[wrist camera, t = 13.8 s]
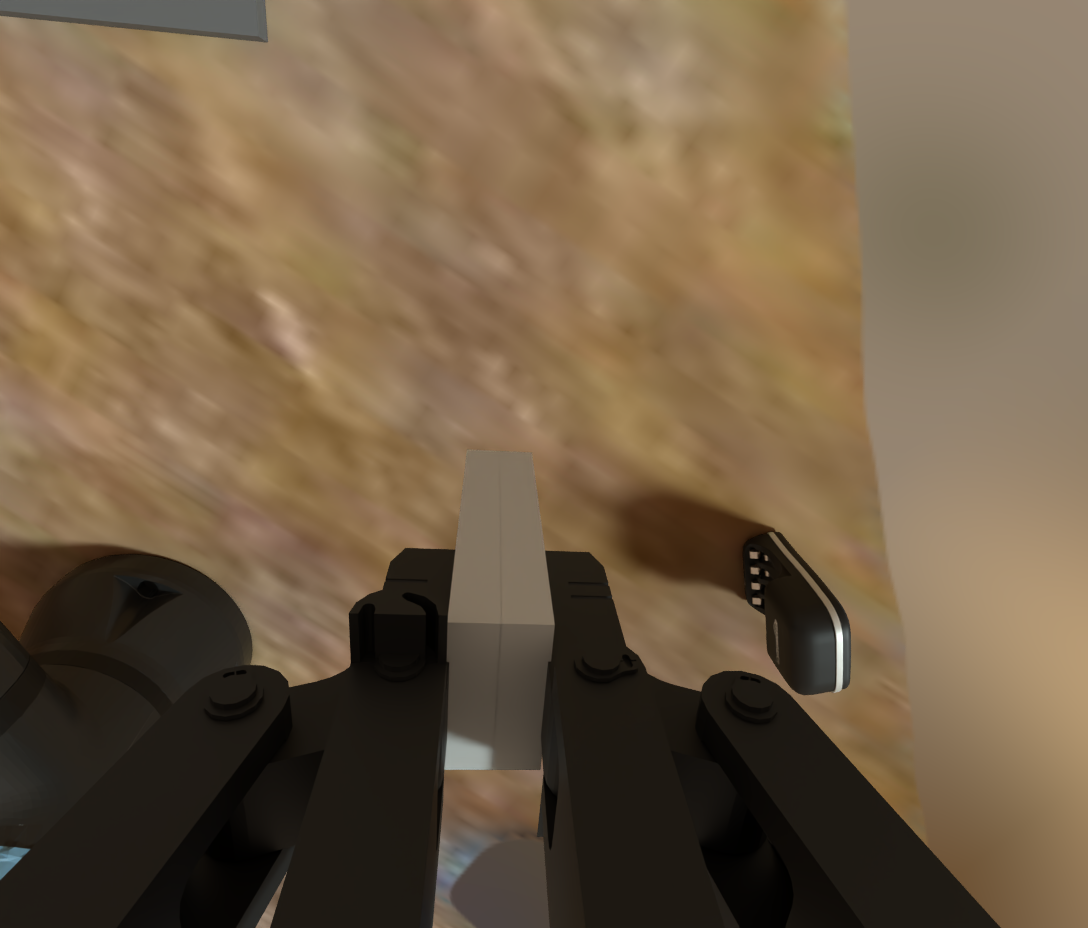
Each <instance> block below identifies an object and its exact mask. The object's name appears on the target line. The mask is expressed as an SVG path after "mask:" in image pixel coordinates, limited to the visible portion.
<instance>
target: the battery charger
mask: <svg viewBox="0 0 1088 928" xmlns="http://www.w3.org/2000/svg"><path fill="white" fill-rule="evenodd" d="M743 566H744V581H745V594H746V599H747V602H748V603H749V605H750V606H752V607H753V608H755V609H756V610H758V611H759V612H761V613H763V614H764V615H765V617H766V640H767V652H768V654H769V656H770V658H771V659H772V661H773V663H774V664H775V666H776V667H777V669H778V670H779V672H780V673H781V675H782V676H783V678H784V679H785V681H786V682H787V683H788V685H789V686H790V687H791V689H793V690H794V691H795V692H797V693H798V694H802V695H814V694H819V693H825V692H832V693H834V692H839V691H841V689H845V688H847V687H848V685H849V683H850V669H851V632H850V625H849V620H848V617H847V615H846V613H845V611H844V609H843V607H842V605H841V604H840V603H839V601H838V600H837V599H836V597H835V596H834V595H833V594H832V592H831V591H830V590H829V589H828V587H827V586H826V585H825V584H824V583H823V581H822V580H821V579H820V578H819V577H818V575H817V574H816V573H815V572H814V571H813V570H812V569H811V567H810V566H809V565H808V564H807V563H806V562H805V561H804V560H803V559H802V558H801V556H800V555H799V554H798V553H797V552H796V551H795V550H794V548H793V547H792V546H791V545H790V544H789V542H788V541H787V540H786V539H785V537H784V536H783V535H782V534H781V533H780V532H768V533H767V534H764V535H759V536H757V537H754V538H752V539H750V540H748V541H747V542H746V543H745V544H744V547H743Z"/></svg>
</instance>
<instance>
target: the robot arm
mask: <svg viewBox="0 0 1088 928" xmlns="http://www.w3.org/2000/svg"><path fill="white" fill-rule="evenodd" d="M349 629H350V652H351V664H350V667H349V668H348V669H346V670H345V671H343V672H341V673H339V674H337V675H335V676H333V677H330V678H327V679H324V680H320V681H317V682H313V683H308V684H303V685H298V686H294V687H289V685H288V681H287V680H286V678H285V677H284V676H283V675H282V674H281V673H280V672H279V671H276V670H274V669H271V668H268V667H266V666H258V665H250V663H251V659H252V639H251V634H250V630H249V627H248V625H247V622H246V620H245V618H244V616H243V614H242V612H241V611H240V609H239V608H238V606H237V605H236V603H235V602H234V601H233V600H232V598H231V597H230V596H229V595H228V594H227V593H226V592H225V591H224V590H223V589H222V588H221V587H219V586H218V585H217V584H216V583H214V582H213V581H212V580H210V579H209V578H207V577H206V576H204V575H203V574H201V573H199V572H197V571H195V570H193V569H191V568H189V567H187V566H185V565H182V564H180V563H177V562H174V561H171V560H167V559H164V558H159V557H154V556H147V555H134V554H126V555H114V556H108V557H103V558H99V559H96V560H92V561H90V562H87V563H85V564H83V565H81V566H79V567H77V568H75V569H74V570H72V571H71V572H70V573H68V574H67V575H66V576H65V577H63V578H62V579H61V580H60V581H59V582H58V583H57V584H56V585H55V586H53V587H52V588H51V589H50V590H49V591H48V592H47V593H46V594H45V595H44V596H43V597H42V598H41V600H40V601H39V602H38V604H37V605H36V606H35V608H34V610H33V611H32V613H31V615H30V618H29V620H28V622H27V625H26V627H25V629H24V631H23V633H22V635H21V637H20V640H19V641H18V640H17V639H16V638H15V637H14V636H13V635H12V634H11V632H10V631H9V630H8V629H7V628H6V627H5V626H4V625H3V623H2V622H1V621H0V928H255V927H256V925H257V923H258V922H259V920H260V918H261V916H262V915H263V913H264V911H265V909H266V908H267V906H268V904H269V902H270V901H271V899H272V897H273V895H274V894H275V892H276V890H277V888H278V886H279V885H280V883H281V881H282V879H283V878H284V876H285V874H286V872H287V874H286V878H285V881H284V884H283V887H282V891H281V894H280V897H279V900H278V904H277V907H276V910H275V914H274V917H273V920H272V923H271V927H270V928H432V926H433V914H434V902H435V891H436V879H437V867H438V855H439V844H440V832H441V820H442V808H443V787H444V770H540V768H541V758H543V771H544V775H543V785H542V795H541V804H540V814H539V824H538V833H537V837H544V851H545V866H546V880H547V895H548V908H549V923H550V928H1000V926H999V925H998V924H997V923H996V922H995V921H994V920H993V919H992V918H991V917H990V915H989V914H988V913H987V912H986V911H985V910H984V909H983V908H982V907H981V906H980V905H979V903H978V902H977V901H976V900H975V899H974V898H973V897H972V896H971V895H970V894H969V892H968V891H967V890H966V889H965V888H964V887H963V886H962V885H961V883H960V882H959V881H958V880H957V879H956V878H955V877H954V876H953V875H952V874H951V872H950V871H949V870H948V869H947V868H946V867H945V866H944V865H943V864H942V862H941V861H940V860H939V859H938V858H937V857H936V856H935V855H934V854H933V852H932V851H931V850H930V849H929V848H928V847H927V846H926V845H925V844H924V842H923V841H922V840H921V839H920V838H919V837H918V836H917V835H916V834H915V833H914V831H913V830H912V829H911V828H910V827H909V826H908V825H907V824H906V823H905V821H904V820H903V819H902V818H901V817H900V816H899V815H898V814H897V813H896V812H895V810H894V809H893V808H892V807H891V806H890V805H889V804H888V803H887V802H886V800H885V799H884V798H883V797H882V796H881V795H880V794H879V793H878V792H877V791H876V789H875V788H874V787H873V786H872V785H871V784H870V783H869V782H868V781H867V779H866V778H865V777H864V776H863V775H862V774H861V773H860V772H859V771H858V770H857V768H856V767H855V766H854V765H853V764H852V763H851V762H850V761H849V760H848V758H847V757H846V756H845V755H844V754H843V753H842V752H841V751H840V750H839V749H838V747H837V746H836V745H835V744H834V743H833V742H832V741H831V740H830V739H829V737H828V736H827V735H826V734H825V733H824V732H823V731H822V730H821V729H820V728H819V726H818V725H817V724H816V723H815V722H814V721H813V720H812V719H811V718H810V716H809V715H808V714H807V713H806V712H805V711H804V710H803V709H802V708H801V707H800V705H799V704H798V703H797V702H796V701H795V700H794V699H793V698H792V697H791V696H790V695H789V694H788V693H787V692H786V691H785V690H783V689H782V688H781V687H780V686H779V685H777V684H776V683H774V682H772V681H770V680H768V679H766V678H764V677H762V676H760V675H756V674H751V673H747V672H743V671H723V672H721V673H718V674H715V675H712V676H710V678H709V679H708V680H707V681H706V682H705V683H704V684H703V687H702V691H701V692H700V691H696V690H692V689H688V688H684V687H680V686H676V685H673V684H670V683H667V682H664V681H661V680H659V679H657V678H655V677H653V676H651V675H649V674H648V673H647V672H646V668H645V666H644V664H643V663H642V661H641V659H640V658H639V656H638V655H637V654H635V653H634V652H633V651H632V650H630V649H629V648H628V647H626V644H625V640H624V637H623V633H622V630H621V626H620V623H619V619H618V616H617V612H616V609H615V605H614V602H613V600H612V595H611V591H610V587H609V586H608V580H607V577H606V573H605V570H604V567H603V566H602V565H601V564H600V563H599V562H598V561H597V560H596V559H595V558H594V557H593V556H592V555H591V554H590V553H589V552H565V551H545V548H544V540H543V533H542V525H541V518H540V510H539V503H538V495H537V488H536V480H535V473H534V465H533V457H532V453H530V452H509V451H487V450H467V455H466V463H465V472H464V481H463V489H462V498H461V506H460V515H459V524H458V532H457V541H456V550H449V549H419V548H405V549H404V550H403V551H402V552H401V553H400V554H399V555H398V556H396V557H395V558H394V559H393V560H392V561H391V562H390V565H389V569H388V572H387V576H386V582H385V583H384V586H383V590H381V591H378V592H374V593H371V594H369V595H367V596H366V597H364V598H363V599H361V600H359V601H358V602H356V604H355V605H354V607H353V608H352V609H351V611H350V612H349Z"/></svg>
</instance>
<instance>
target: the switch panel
mask: <svg viewBox="0 0 1088 928" xmlns="http://www.w3.org/2000/svg"><path fill="white" fill-rule="evenodd" d="M0 16H9V17H19V18H29V19H39V20H49V21H59V22H69V23H79V24H89V25H99V26H109V27H119V28H129V29H139V30H149V31H159V32H169V33H179V34H189V35H199V36H209V37H219V38H229V39H239V40H249V41H259V42H268V37H267V23H266V9H265V0H0Z"/></svg>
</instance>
